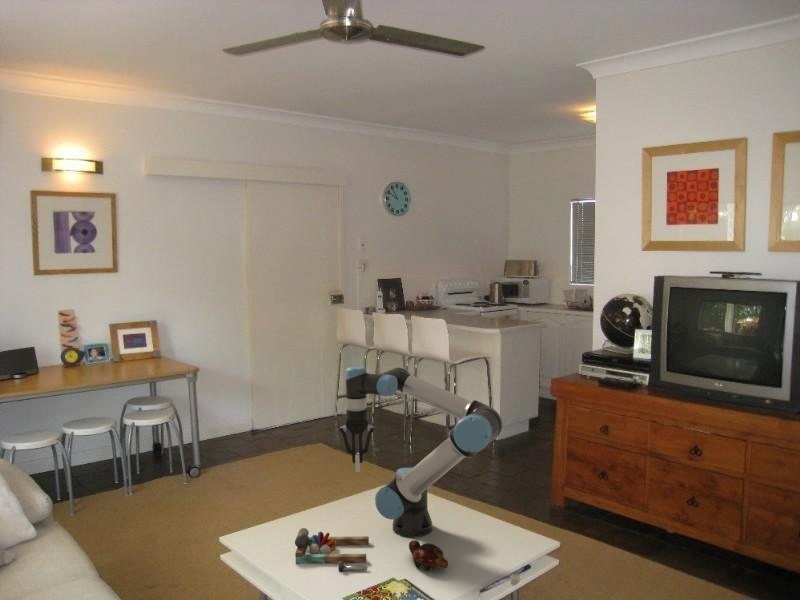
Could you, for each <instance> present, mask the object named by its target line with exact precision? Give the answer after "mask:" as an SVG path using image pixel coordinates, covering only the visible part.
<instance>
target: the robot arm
mask: <svg viewBox="0 0 800 600" xmlns="http://www.w3.org/2000/svg"><path fill="white" fill-rule="evenodd" d="M397 391H398V392H400V393H402V394H405V395H407V396H409V397H412V398H414V399H415V400H417V401H420V402H422V403H424V404H426V405H428V406H430V407H432V408H435V409H437V410H439V411H441V412H444V413H445V414H447V415H449V416H452V417H454V418H456V419H459V420H458V422H457V423H456V425H454V427H452V428H451V429H450V430H449V431H448V437H447V439H445V440H444V441H443V442H441V443H440V444H439V445H438V446H437V447H436V448H435V449H433V450H432V451H430V453H429V454H427V455H426V456H425V457H424V458H422V460H421V461H419V462H418V463H417V464H416V465H415V466H413V467H402V468H401V467H400V468H398V469H396V473H395V477H394V478H393V479H391V481H390V482H388V483H387V484H386V485H384V486H382V487H380V488H379V490H378V491H377V492H376V494H375V496H374V500H375V502H374V503H375V507H376V510H377V511H378V513H379V514H380V515H381V516H382V517H383V518H385V519H387V520H391V521H392V520H393V521H392V531H393V533H395V534H397V535H399V536H401V537H410V538H414V537H415V538H417V537H422V536H426V535H429V534H430V533H431V532H432V531H433V521H432V518H431V516H430V513H429V509H428V488H430V487H431V486H432V485H433V484H434V483H436V482H437V481H439V479H441V478H442V477H443V476H444V475H445V474H447V473H448V472H449V471H450V470H451V469H452V468H454V467H455V466H456V465H458V464H459V463H460V462H461V461H463V459H465V458H466V459H467V458H468V459H471V458H473V457H474V456H475V455H477V454H478V453H479V452H480V451H482V450H484V449H485V448H487V446H488V445H489V444H491V442H492V441H494V440H495V439H497V438H498V436H499V435H500V434H501V432H502V429H503V421H502V417H501V416H500V414H499V412H498V411H497V410H496V409H494V408H493V407H491V406H489V405H488V404H485V403H483V402H481V401H478V400H477V399H473V400H469V399H466V398H464V397H463V396H460V395H458V394H456V393H453V392H451V391H448V390H446V389H445V388H442V387H440V386H438V385H436V384H433V383H430V382H429V381H426V380H424V379H421V378H419V377H417V376H414V375H413V374H411V373H410V372H409V369H407V368H405V367H401V366H399V367H394V368H392V369H390V370H386V371H384V372H381V373H368V372H367V368H366V367H365V366H360V365H359V366H357V365H356V366H349V367H348V368H346V370H345V393H346V395H345V396H346V397H345V398H346V399H345V402H346V403H345V405H346V407H345V408H346V409H347V410H346V421H345V424H344V425H342V426H340V428H339V432H340V433H341V435H342V438H343V442H344V445H345V448H346V452H347V454H350V455H351V457H352V464H355V473H360V472H361V464H363V462H364V454H367V453H368V449H369V446H370V441H371V436H372V433H374V430H375V426H374V425H371V424H369V421H368V410H367V406H368V405H367V404H368V403H367V402H368V399H367V395H373V396H374V395H375V396H382V397H392V396H394V395H395V394H396V393H397ZM347 430H348V431H349V433H351V445H350V440H349V437H348V433H347ZM366 430H367V435H366V436H367V437H366V441H365V446H363V443H364V442H363V438H364V437H363V433H364V432H365V431H366ZM357 434H358V452H357V447H356V446H357V445H356V440H357V439H356V438H357V437H356V435H357Z"/></svg>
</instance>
